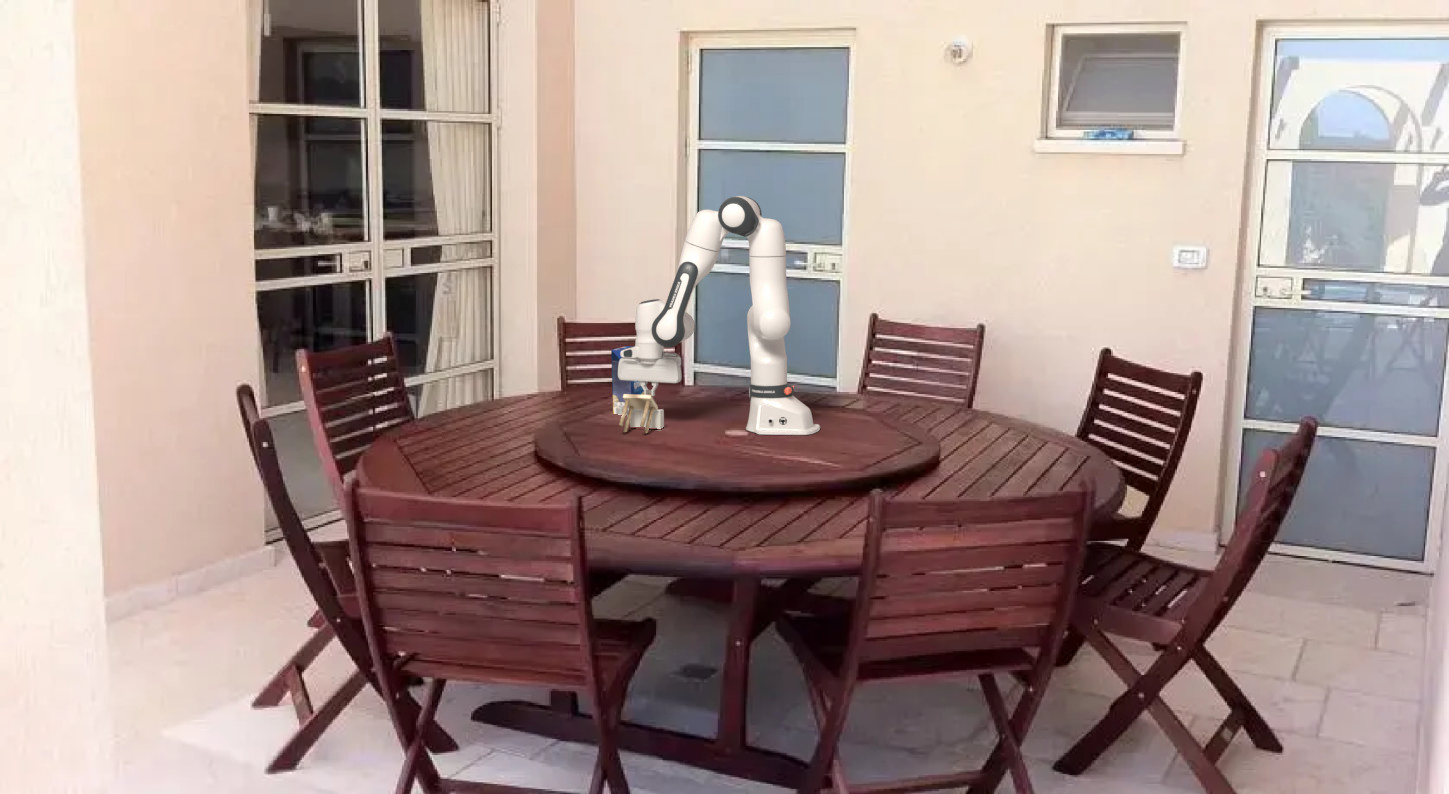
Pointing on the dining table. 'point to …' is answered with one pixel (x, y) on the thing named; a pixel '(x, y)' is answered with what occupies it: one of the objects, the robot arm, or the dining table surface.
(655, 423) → the stone block
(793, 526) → the dining table surface
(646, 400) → the stool
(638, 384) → the beverage box
